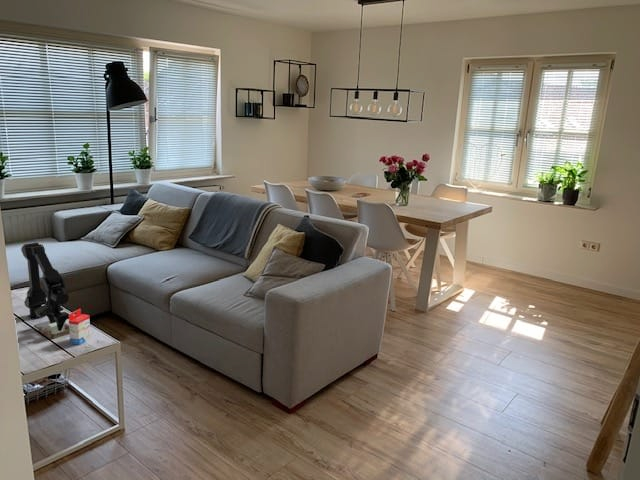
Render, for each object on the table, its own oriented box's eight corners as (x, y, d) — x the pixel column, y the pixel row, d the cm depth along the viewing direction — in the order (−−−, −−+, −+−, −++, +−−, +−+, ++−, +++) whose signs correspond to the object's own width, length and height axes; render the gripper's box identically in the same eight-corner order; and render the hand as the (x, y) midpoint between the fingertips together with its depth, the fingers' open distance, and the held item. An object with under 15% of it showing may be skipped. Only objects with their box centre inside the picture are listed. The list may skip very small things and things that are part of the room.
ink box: (79, 345, 228) (77, 315, 225) (69, 343, 229) (67, 314, 226) (91, 337, 236) (89, 309, 233) (82, 336, 237) (80, 307, 234)
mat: (34, 325, 246) (34, 324, 246) (55, 319, 254) (55, 319, 254) (41, 330, 241) (41, 329, 241) (62, 324, 249) (62, 323, 249)
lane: (39, 331, 240) (39, 327, 240) (62, 324, 249) (62, 321, 248) (51, 339, 233) (51, 335, 232) (75, 332, 241) (75, 328, 240)
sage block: (48, 332, 240) (47, 324, 239) (61, 328, 245) (60, 321, 244) (52, 334, 238) (51, 326, 237) (64, 330, 242) (64, 323, 241)
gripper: (27, 297, 236) (30, 327, 240) (45, 308, 225) (47, 339, 229) (51, 292, 245) (54, 321, 249) (69, 302, 234) (71, 332, 238)
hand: (56, 328), depth 241 cm, fingers open, 7 cm apart
